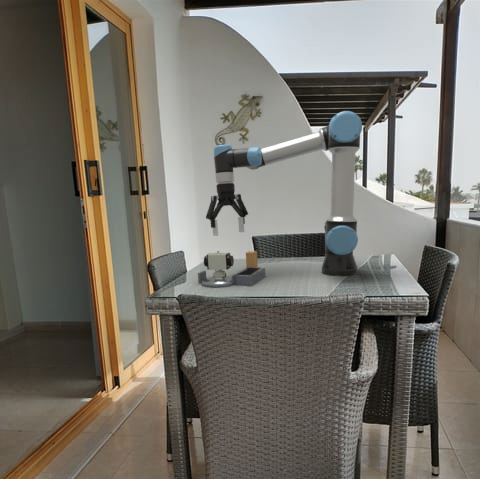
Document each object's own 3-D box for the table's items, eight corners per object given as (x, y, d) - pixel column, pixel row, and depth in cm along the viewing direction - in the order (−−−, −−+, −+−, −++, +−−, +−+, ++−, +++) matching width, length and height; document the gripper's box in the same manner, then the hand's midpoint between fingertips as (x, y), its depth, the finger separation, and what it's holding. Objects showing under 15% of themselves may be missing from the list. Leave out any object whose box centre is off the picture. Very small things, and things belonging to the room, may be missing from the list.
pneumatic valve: (231, 280, 145) (230, 251, 143) (204, 280, 148) (202, 252, 146) (235, 277, 150) (233, 249, 149) (209, 277, 153) (207, 250, 152)
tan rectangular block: (258, 272, 165) (257, 251, 164) (255, 274, 161) (253, 252, 160) (250, 272, 167) (248, 251, 165) (246, 274, 163) (245, 252, 162)
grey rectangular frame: (265, 276, 156) (265, 267, 155) (251, 286, 140) (251, 276, 140) (247, 275, 159) (247, 267, 159) (232, 285, 144) (231, 275, 143)
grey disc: (246, 279, 152) (245, 269, 151) (231, 288, 138) (231, 277, 138) (209, 278, 159) (208, 268, 158) (192, 286, 145) (191, 275, 145)
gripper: (243, 183, 159) (246, 230, 161) (194, 184, 144) (199, 236, 146) (253, 181, 153) (257, 230, 155) (204, 183, 138) (209, 237, 140)
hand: (229, 233), depth 151 cm, fingers open, 13 cm apart
